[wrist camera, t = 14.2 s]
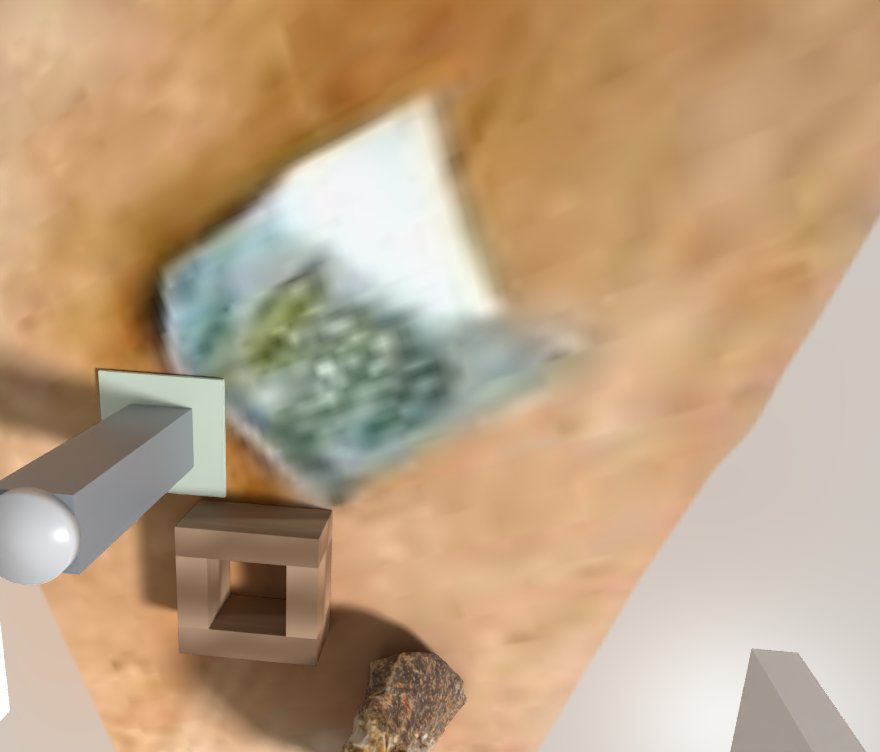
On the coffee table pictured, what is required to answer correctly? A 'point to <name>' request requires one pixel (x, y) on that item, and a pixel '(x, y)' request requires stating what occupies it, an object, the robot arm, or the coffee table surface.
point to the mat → (184, 393)
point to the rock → (406, 704)
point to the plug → (90, 491)
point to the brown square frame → (247, 617)
